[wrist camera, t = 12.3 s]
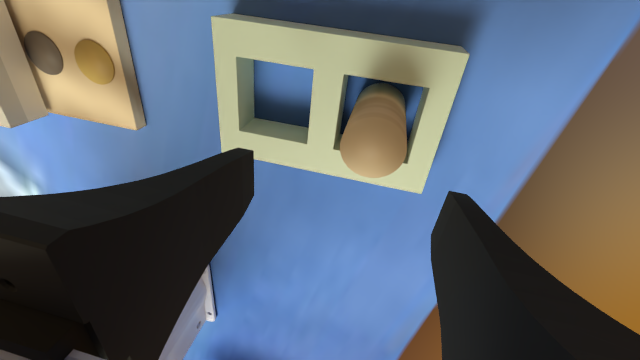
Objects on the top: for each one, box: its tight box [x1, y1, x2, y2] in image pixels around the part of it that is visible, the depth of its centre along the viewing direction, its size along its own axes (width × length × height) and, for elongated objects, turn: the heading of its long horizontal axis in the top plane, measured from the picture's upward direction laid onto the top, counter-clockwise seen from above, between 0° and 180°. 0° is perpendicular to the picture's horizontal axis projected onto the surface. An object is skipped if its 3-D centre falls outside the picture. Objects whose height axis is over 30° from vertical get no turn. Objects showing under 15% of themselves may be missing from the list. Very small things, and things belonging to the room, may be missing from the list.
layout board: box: [4, 0, 146, 130], centre depth 21 cm, size 9×8×1 cm
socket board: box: [211, 13, 470, 194], centre depth 18 cm, size 8×13×2 cm, turn 84°
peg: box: [340, 83, 407, 178], centre depth 16 cm, size 3×3×6 cm
